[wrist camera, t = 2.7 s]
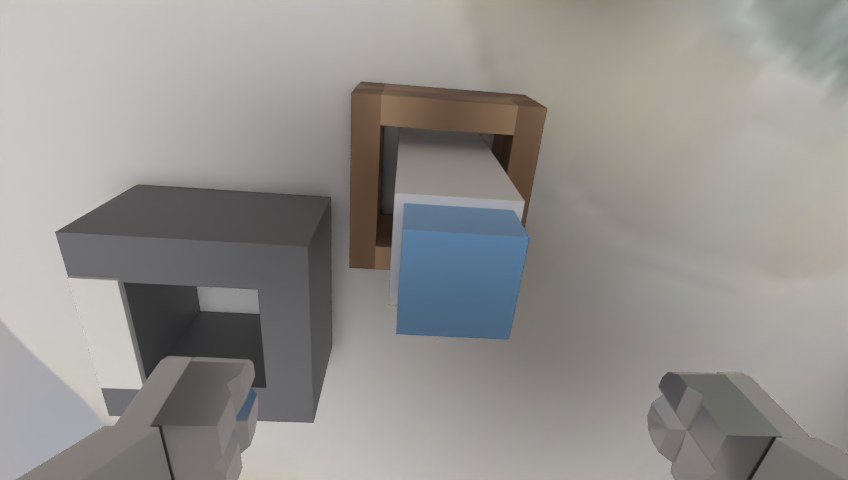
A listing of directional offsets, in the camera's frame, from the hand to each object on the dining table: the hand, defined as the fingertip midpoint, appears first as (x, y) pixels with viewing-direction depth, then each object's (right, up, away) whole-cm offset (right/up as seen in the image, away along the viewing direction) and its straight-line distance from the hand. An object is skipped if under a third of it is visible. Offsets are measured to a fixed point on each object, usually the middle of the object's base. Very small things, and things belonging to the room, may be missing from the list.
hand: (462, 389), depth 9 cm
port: (-11, +1, +17) cm, 20 cm away
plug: (0, +7, +15) cm, 16 cm away
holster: (0, +7, +15) cm, 16 cm away
